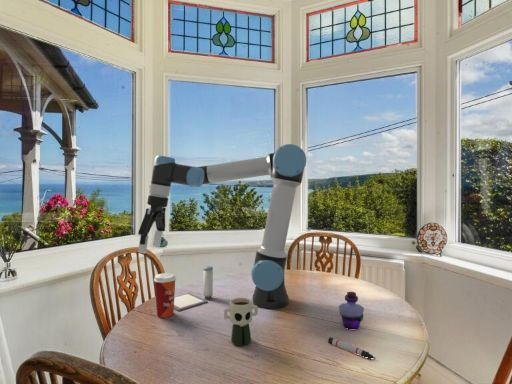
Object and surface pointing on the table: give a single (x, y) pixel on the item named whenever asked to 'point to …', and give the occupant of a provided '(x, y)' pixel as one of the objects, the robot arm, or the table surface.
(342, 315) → the potion bottle
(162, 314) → the coffee cup
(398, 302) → the table surface
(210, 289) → the thick grey marker
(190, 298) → the writing board
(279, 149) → the robot arm
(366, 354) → the marker
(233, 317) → the character mug
